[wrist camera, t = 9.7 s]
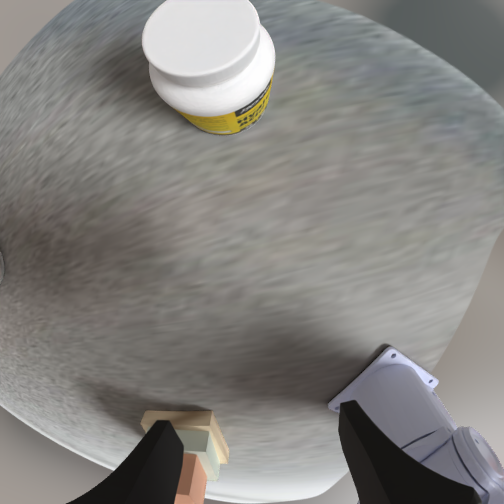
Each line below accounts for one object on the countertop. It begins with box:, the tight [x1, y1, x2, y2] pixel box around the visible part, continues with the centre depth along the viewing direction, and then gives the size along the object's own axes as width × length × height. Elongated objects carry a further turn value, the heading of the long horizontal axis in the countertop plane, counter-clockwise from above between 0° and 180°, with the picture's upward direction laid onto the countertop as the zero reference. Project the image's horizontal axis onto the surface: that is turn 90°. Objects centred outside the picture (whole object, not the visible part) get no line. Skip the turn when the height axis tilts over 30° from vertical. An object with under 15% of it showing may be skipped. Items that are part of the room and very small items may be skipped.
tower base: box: [140, 410, 229, 464], centre depth 23 cm, size 7×7×2 cm
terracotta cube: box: [174, 454, 207, 504], centre depth 18 cm, size 4×4×4 cm
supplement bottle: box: [142, 0, 275, 136], centre depth 11 cm, size 5×5×10 cm
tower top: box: [146, 426, 220, 481], centre depth 21 cm, size 6×6×2 cm
